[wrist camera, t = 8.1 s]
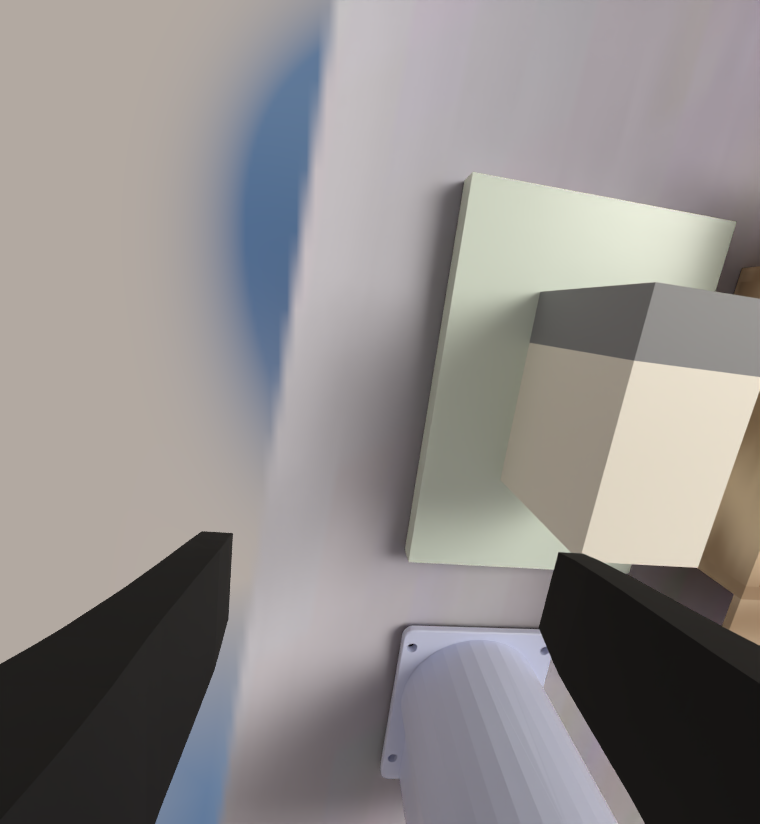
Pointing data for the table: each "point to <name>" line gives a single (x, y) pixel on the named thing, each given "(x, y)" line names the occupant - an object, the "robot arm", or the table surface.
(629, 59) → the table surface
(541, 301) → the block
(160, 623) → the robot arm
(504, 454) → the board
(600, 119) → the table surface
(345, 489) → the table surface
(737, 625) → the light wood shallow tray
